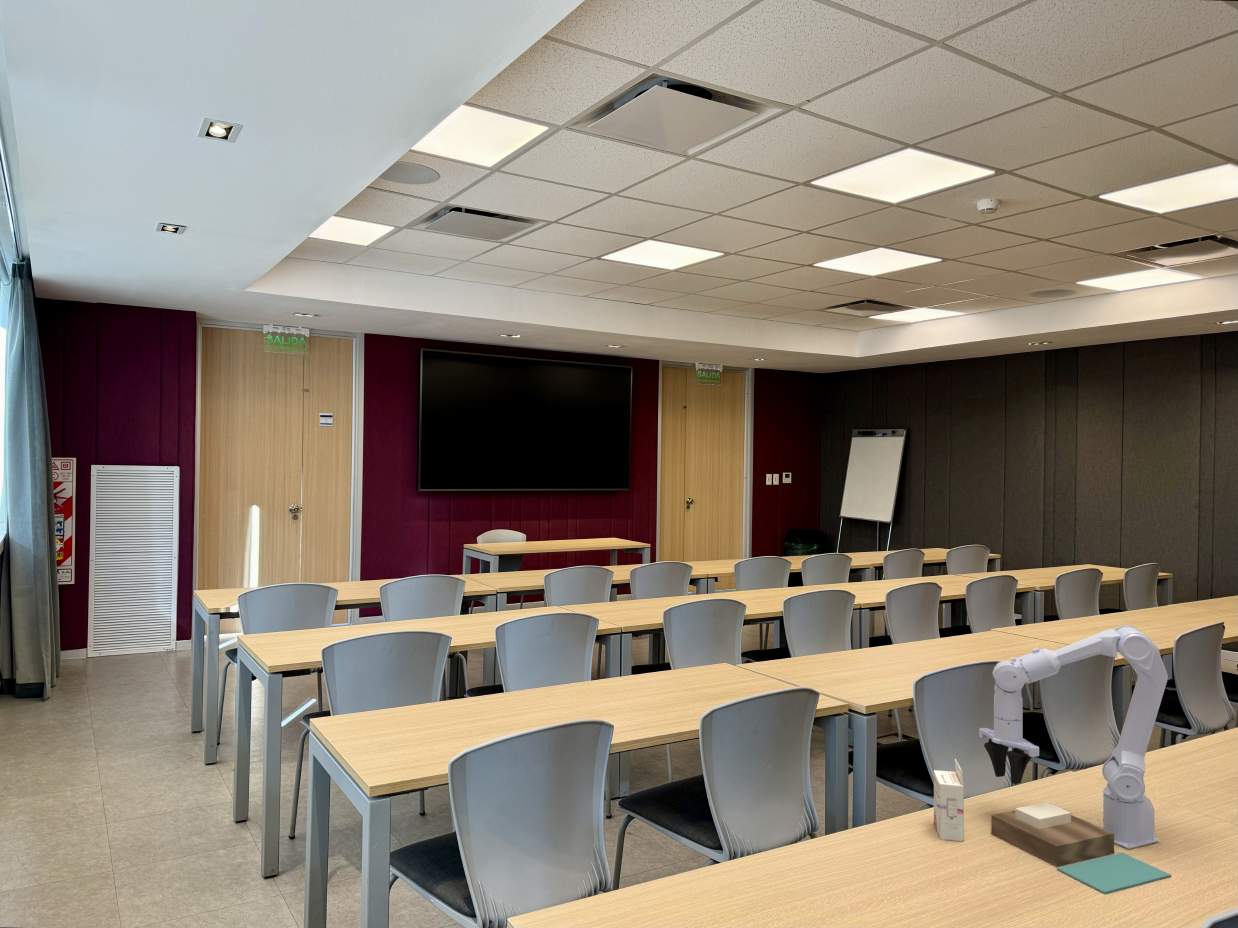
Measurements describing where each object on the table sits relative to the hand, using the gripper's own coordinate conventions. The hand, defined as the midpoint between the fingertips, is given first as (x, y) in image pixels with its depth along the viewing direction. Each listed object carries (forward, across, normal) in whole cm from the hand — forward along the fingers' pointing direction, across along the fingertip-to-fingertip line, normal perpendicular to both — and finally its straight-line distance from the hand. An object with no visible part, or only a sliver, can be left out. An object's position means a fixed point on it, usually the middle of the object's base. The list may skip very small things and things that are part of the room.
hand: (1008, 779), depth 182 cm
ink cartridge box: (+10, -1, -16) cm, 19 cm away
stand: (+9, +11, 0) cm, 14 cm away
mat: (+9, +25, 0) cm, 27 cm away
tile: (+4, +9, 0) cm, 10 cm away
